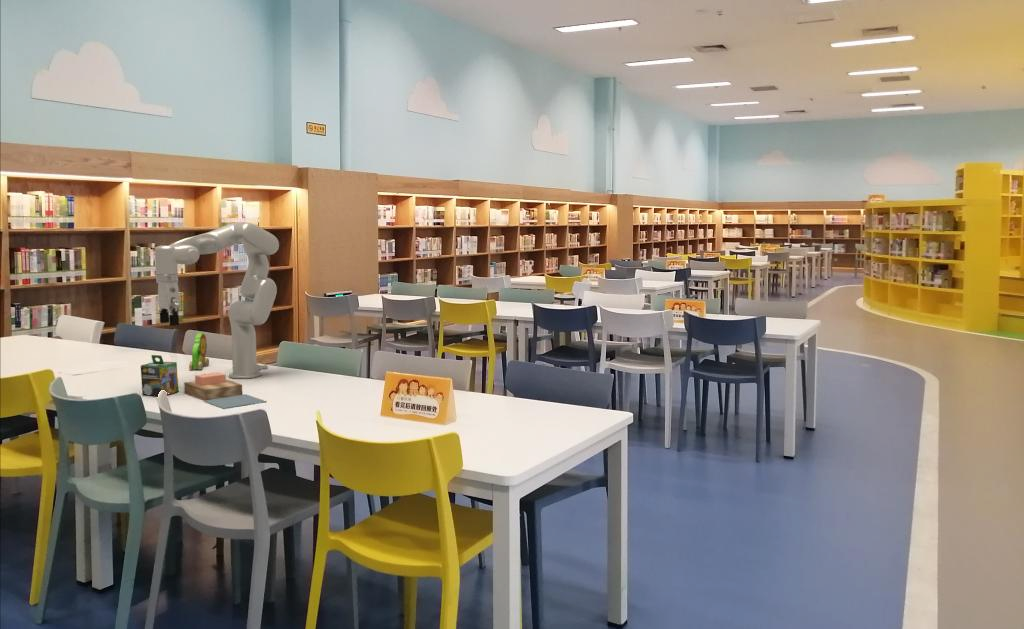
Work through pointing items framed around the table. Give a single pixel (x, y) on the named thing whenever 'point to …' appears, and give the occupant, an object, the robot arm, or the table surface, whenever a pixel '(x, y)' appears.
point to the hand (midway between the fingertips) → (169, 324)
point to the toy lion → (199, 353)
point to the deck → (213, 390)
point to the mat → (234, 401)
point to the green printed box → (159, 377)
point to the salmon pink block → (210, 378)
